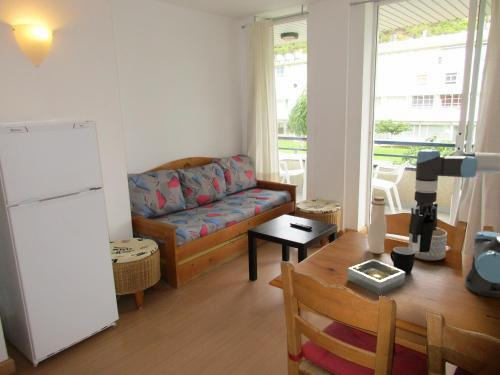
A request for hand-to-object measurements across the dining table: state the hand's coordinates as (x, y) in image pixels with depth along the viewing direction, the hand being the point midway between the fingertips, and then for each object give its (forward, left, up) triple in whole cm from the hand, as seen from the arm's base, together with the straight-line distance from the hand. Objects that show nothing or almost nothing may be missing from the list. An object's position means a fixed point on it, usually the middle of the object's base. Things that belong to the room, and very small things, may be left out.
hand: (421, 247), depth 143 cm
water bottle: (+37, -21, -18) cm, 46 cm away
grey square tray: (+14, +8, -18) cm, 24 cm away
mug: (+15, -10, -18) cm, 26 cm away
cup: (0, 0, -1) cm, 1 cm away
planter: (+18, -35, -18) cm, 43 cm away
